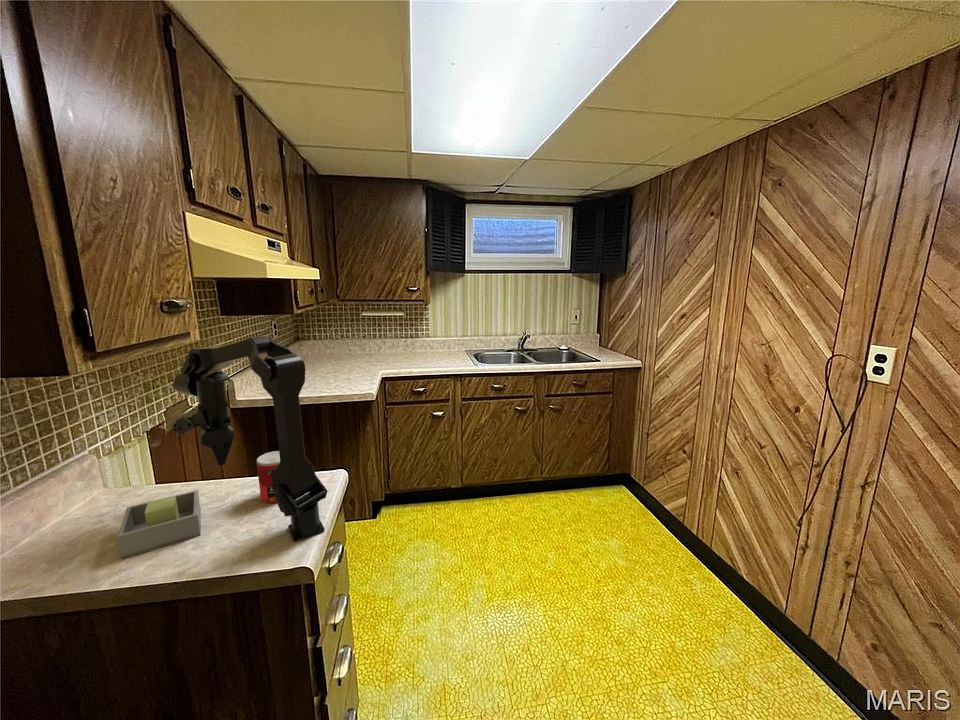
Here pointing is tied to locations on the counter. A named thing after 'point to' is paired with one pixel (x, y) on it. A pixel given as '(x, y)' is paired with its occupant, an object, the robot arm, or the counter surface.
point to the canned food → (267, 475)
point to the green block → (161, 511)
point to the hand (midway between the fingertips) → (220, 458)
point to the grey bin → (159, 526)
